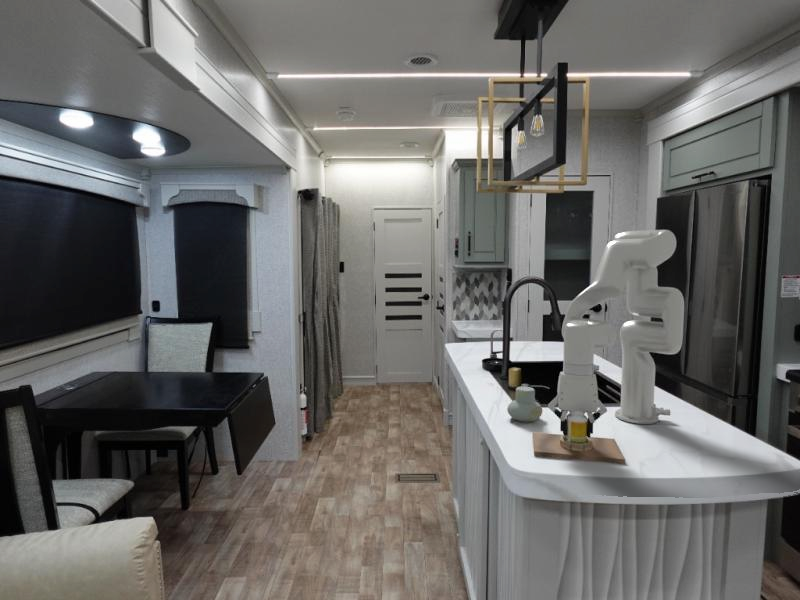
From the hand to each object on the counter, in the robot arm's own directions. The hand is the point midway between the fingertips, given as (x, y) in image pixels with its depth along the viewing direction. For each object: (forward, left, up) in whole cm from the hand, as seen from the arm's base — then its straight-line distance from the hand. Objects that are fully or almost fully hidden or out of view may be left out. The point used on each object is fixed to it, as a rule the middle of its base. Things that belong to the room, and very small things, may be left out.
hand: (576, 434), depth 130 cm
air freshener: (+13, -22, -4) cm, 26 cm away
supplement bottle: (0, 0, -2) cm, 2 cm away
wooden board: (0, 0, -4) cm, 4 cm away
